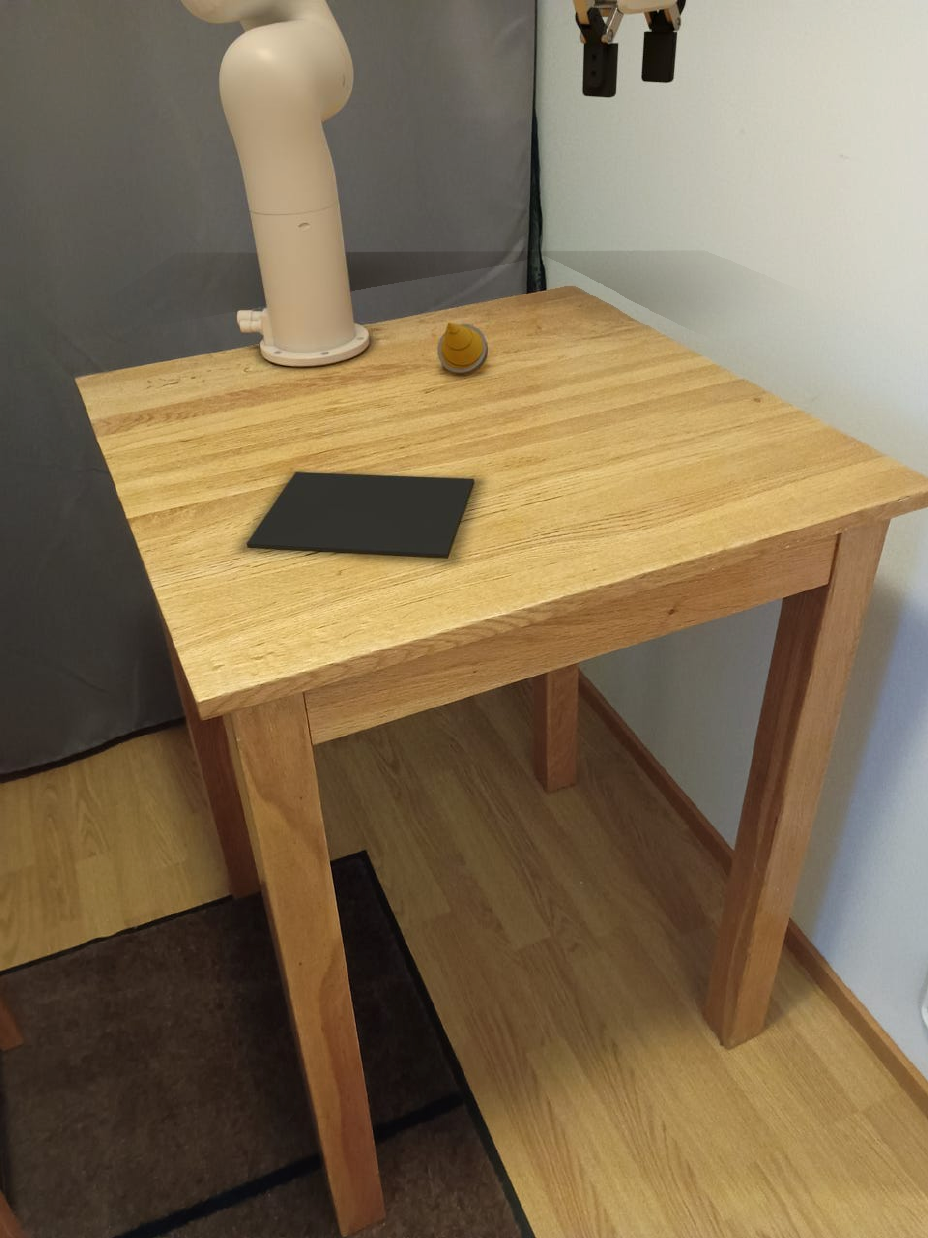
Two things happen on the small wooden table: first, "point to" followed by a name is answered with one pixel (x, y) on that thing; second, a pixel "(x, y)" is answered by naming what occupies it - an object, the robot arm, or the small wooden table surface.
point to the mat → (365, 514)
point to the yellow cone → (462, 349)
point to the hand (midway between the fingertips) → (628, 88)
